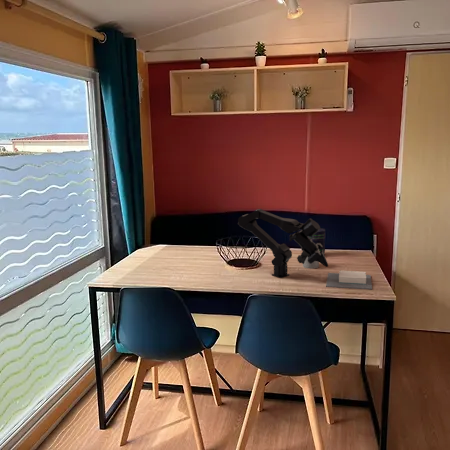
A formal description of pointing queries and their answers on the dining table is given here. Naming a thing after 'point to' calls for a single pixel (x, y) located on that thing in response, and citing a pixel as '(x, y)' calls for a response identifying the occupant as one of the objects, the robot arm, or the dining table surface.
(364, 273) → the cream flat block
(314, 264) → the cup
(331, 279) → the mat
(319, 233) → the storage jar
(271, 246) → the robot arm
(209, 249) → the dining table surface
